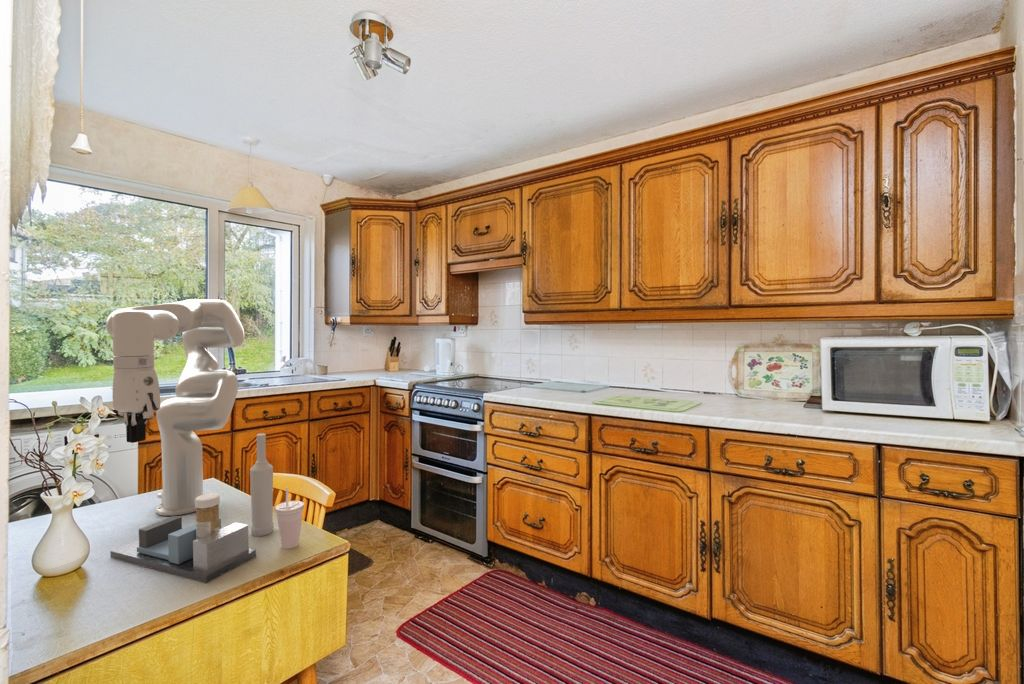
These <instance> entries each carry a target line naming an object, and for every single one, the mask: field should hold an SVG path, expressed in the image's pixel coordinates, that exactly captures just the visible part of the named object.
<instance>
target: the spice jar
mask: <svg viewBox="0 0 1024 684" xmlns="http://www.w3.org/2000/svg"><path fill="white" fill-rule="evenodd" d="M220 500H221V499H220V494H219V493H214V492H213V493H212V492H211V493H205V494H204V493H203V495H201V496H198V497H197V498H196V499H195V507H196V511H195V513H196V514H195V515H196V517H195V518H196V521H195V523H196V537H197V539H199V538H201V537H203V536H205V535H208V534H210V533H212V532H215V531H217V530H219V529H220V527H219V518H220V511H219V510H220V509H219V508H220V507H219V506H220V502H221V501H220Z"/></svg>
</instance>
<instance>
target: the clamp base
mask: <svg viewBox="0 0 1024 684" xmlns="http://www.w3.org/2000/svg"><path fill="white" fill-rule="evenodd" d="M249 536H250V535H249V524H245V523H241V522H233V523H230V524H228V525H226V526H223V527H221V529H219V530H217V531H215V532H212V533H210V534H208V535H205V536H203V537H201V538H199V539H196V540H194V541H193V558H191V559H189V560H187V561H185V562H182V563H180V564H175V563H171V562H169V560H166V559H162V558H158V557H154V556H151V555H147V554H143V553H139V552H137V547H139V539H137V540H135V541H131V542H129V543H126V544H124V545H121V546H120V547H117V548H114V549H111V550H110V551H109V552H110V555H109V556H110V558H111V559H115V560H118V561H123V562H127V563H131V564H133V565H136V566H137V565H138V566H141V567H145V568H147V569H148V568H149V569H153V570H156V571H159V572H163V573H167V574H170V575H175V576H178V577H182V578H186V579H190V580H193V581H197V582H200V583H205V584H207V583H209V582H212V581H213V580H215V579H217V578H219V577H221V576H222V575H224V574H226V573H228V572H230V571H231V570H234V569H235V568H237V567H240V566H241V565H242V564H243V565H244V564H245V563H246V562H248V561H250V560H253V558H256V557H257V550H256V549H253V548H250V547H249V546H250V543H249V541H250V540H249V539H250V537H249Z"/></svg>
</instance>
